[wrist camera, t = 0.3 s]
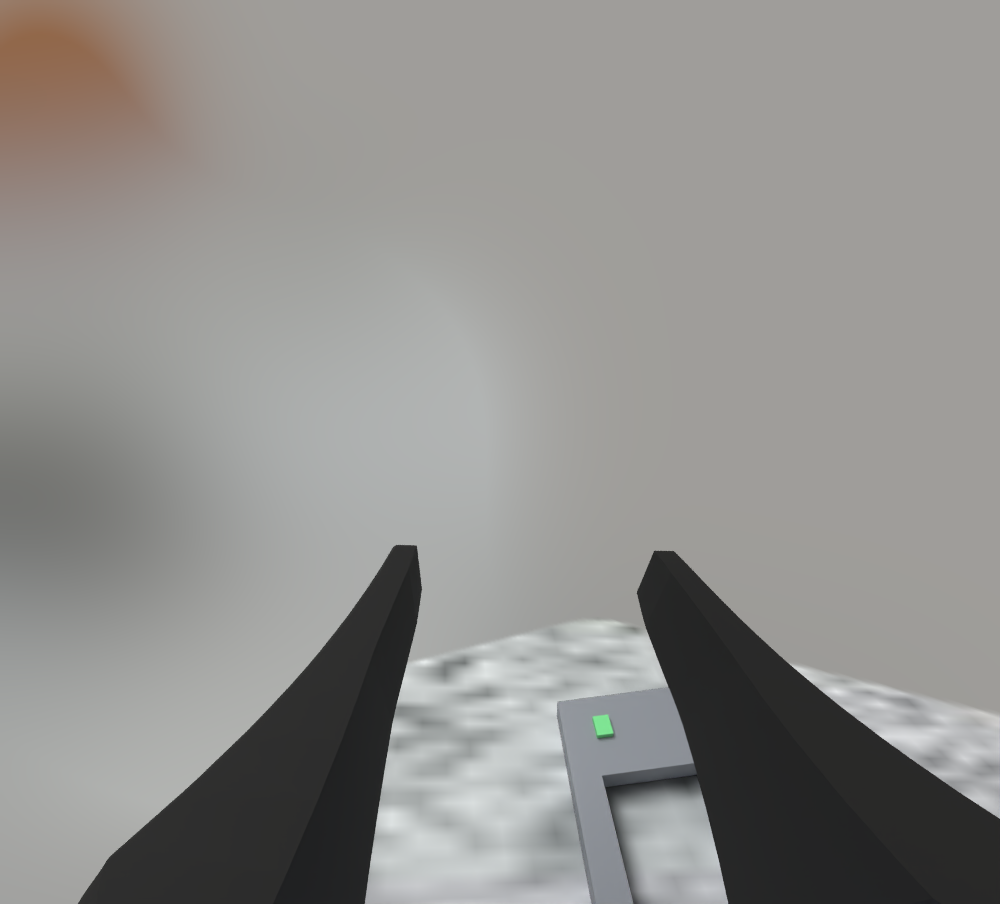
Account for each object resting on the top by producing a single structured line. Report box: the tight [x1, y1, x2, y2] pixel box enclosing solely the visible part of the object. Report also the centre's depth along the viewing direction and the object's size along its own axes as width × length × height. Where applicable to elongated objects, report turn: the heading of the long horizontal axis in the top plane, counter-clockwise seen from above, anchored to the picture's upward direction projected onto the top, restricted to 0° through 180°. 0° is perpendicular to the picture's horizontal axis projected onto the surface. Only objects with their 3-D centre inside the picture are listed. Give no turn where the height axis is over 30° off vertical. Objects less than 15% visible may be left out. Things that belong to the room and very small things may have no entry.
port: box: [557, 687, 697, 904], centre depth 20 cm, size 12×10×3 cm
